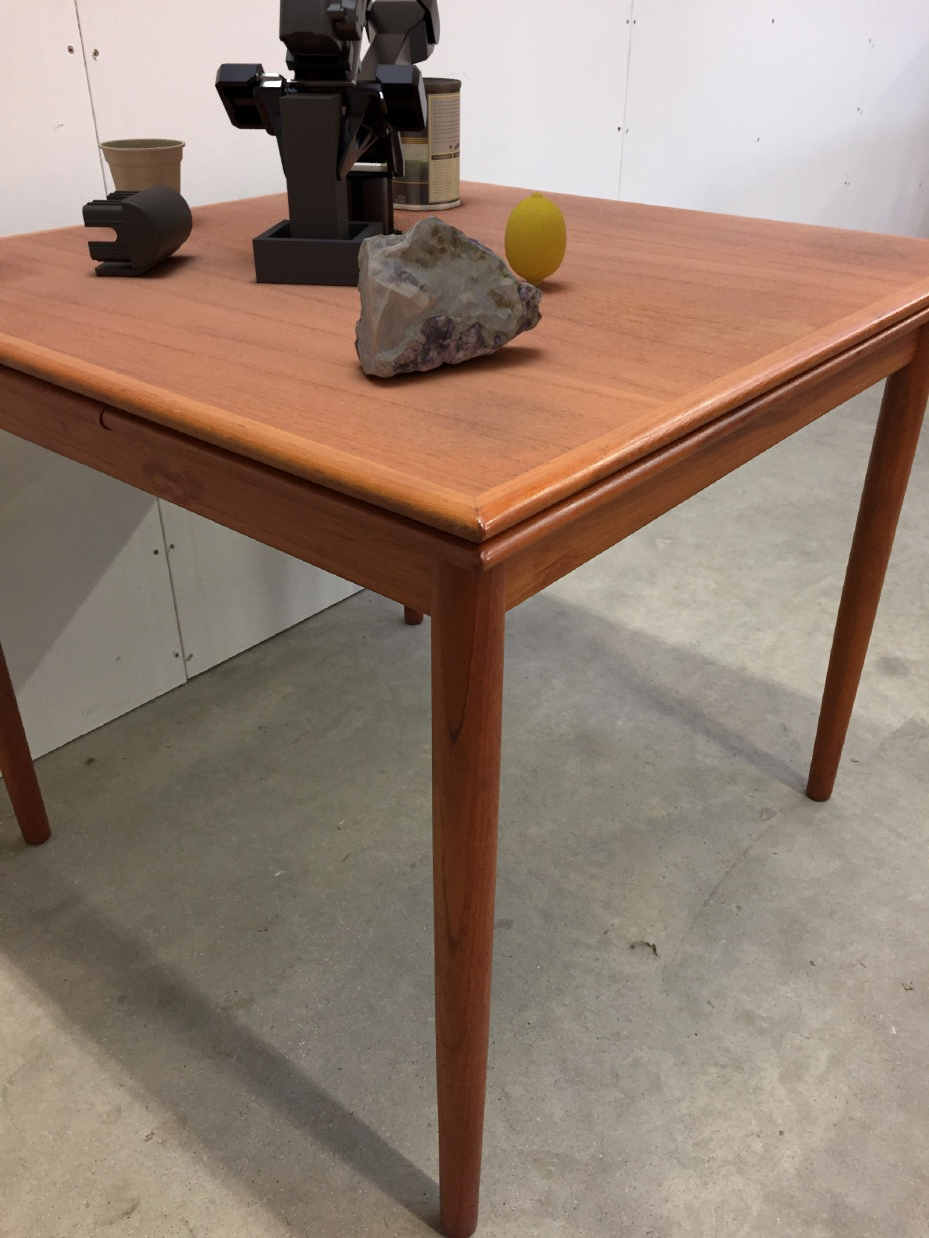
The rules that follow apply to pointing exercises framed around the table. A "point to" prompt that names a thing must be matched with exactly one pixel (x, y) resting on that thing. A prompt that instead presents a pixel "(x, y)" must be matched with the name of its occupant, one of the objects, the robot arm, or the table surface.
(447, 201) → the coffee can
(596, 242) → the table surface
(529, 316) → the mineral rock
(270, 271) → the socket pad
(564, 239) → the lemon
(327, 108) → the pad block
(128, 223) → the end cap
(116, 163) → the flower pot
